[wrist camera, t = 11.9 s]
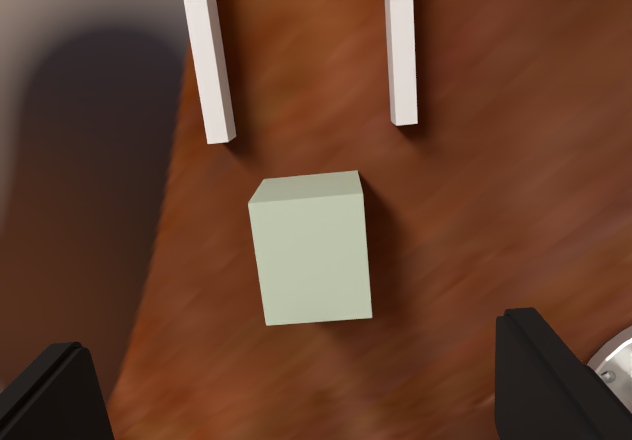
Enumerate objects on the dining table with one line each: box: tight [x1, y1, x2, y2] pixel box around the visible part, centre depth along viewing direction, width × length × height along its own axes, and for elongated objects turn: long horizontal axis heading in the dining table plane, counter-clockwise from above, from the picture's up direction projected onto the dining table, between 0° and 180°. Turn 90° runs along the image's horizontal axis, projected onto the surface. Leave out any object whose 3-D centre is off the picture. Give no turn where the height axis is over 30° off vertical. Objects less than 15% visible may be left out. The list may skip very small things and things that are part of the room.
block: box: [248, 171, 372, 325], centre depth 24 cm, size 6×5×5 cm
